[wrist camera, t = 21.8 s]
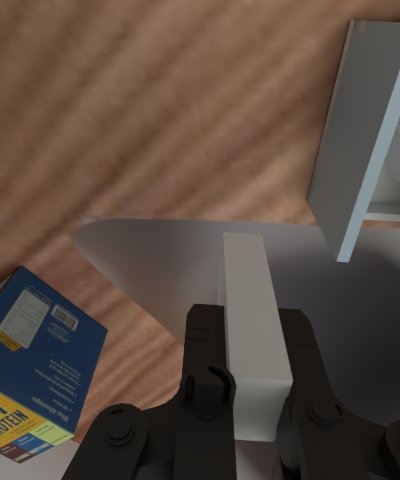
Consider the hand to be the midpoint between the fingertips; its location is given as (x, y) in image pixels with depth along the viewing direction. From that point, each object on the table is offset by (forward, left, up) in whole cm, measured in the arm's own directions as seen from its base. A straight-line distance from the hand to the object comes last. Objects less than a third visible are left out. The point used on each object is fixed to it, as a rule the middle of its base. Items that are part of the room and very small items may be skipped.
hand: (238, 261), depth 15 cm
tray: (+18, 0, -24) cm, 30 cm away
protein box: (-23, -29, -25) cm, 45 cm away
